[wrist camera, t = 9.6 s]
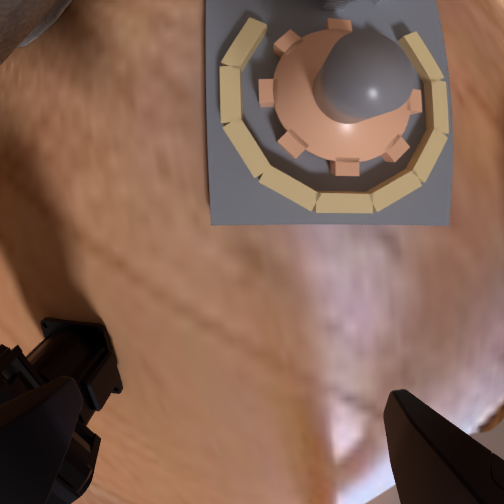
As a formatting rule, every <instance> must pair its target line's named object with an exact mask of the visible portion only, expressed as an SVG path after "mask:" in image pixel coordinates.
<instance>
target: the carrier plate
mask: <svg viewBox="0 0 504 504" xmlns="http://www.w3.org/2000/svg"><path fill="white" fill-rule="evenodd" d="M327 18H333V19H344V20H351V25H352V32H355V31H372V32H376V33H379V34H382V35H384V36H386V37H388V38H390V39H391V40H392V41H394V42H395V43H396V44H397V45H398V46H399V47H400V48H401V49H402V50H403V51H404V52H405V54H406V55H407V57H408V59H409V61H410V63H411V66H412V69H413V74H414V86H413V89H417V90H421V99H422V112H421V113H417V114H412V115H410V116H409V120H408V124H407V126H406V128H405V131H404V133H403V134H402V136H401V137H402V138H403V139H404V140H405V141H406V143H407V144H408V145H409V146H410V148H409V149H408V150H407V151H406V152H405V153H404V154H403V155H402V156H401V157H400V158H399V159H398V160H397V161H396V162H386V161H384V159H383V158H382V157H381V156H378V157H376V158H373V159H370V160H367V161H362V162H359V176H335V175H332V174H330V160H325V159H322V158H319V157H317V156H314V155H312V154H310V153H308V152H307V151H305V150H304V151H303V152H302V153H301V154H300V155H299V156H298V157H297V158H296V159H294V158H292V157H291V156H290V155H289V154H288V153H287V152H286V151H285V150H284V149H283V148H282V147H281V146H280V145H279V144H278V143H277V141H278V140H279V139H280V138H281V137H282V136H283V135H284V134H285V133H286V132H285V130H284V129H283V128H282V126H281V124H280V122H279V120H278V118H277V115H276V112H275V108H274V107H260V104H259V80H258V79H274V73H275V70H276V67H277V65H278V63H279V61H280V58H279V57H278V56H277V55H275V54H274V43H275V42H276V41H277V40H278V39H280V38H281V37H282V36H283V35H284V34H285V33H287V32H288V31H289V30H290V29H291V30H292V31H293V32H294V33H296V34H297V35H298V36H299V37H301V38H302V37H304V36H306V35H308V34H311V33H313V32H317V31H321V30H323V28H324V26H325V23H326V21H327ZM206 112H207V145H208V171H209V193H210V212H211V225H271V224H373V225H431V226H449V219H450V207H451V193H452V170H453V129H452V107H451V93H450V82H449V73H448V65H447V57H446V50H445V44H444V38H443V32H442V27H441V22H440V17H439V12H438V8H437V3H436V0H382V1H380V2H379V3H378V4H376V5H374V4H373V3H372V2H370V1H369V0H358V1H353V2H349V3H348V4H347V6H346V8H345V10H344V12H335V11H322V4H321V1H320V0H206Z"/></svg>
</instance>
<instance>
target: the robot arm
mask: <svg viewBox="0 0 504 504" xmlns="http://www.w3.org/2000/svg"><path fill="white" fill-rule="evenodd" d="M46 324H47V325H46ZM41 327H42V330H43V333H44V336H45V339H44V340H43V341H42V342H41V343H40V344H39V345H37V346H36V347H35V348H34V349H33V350H32V351H31V352H30V353H29V354H28V355H27V356H26V357H25V356H24V354H23V353H22V350H21V348H20V347H19V345H17V346H15V347H14V348H13V349H12V350H11V349H10V348H8V347H6V346H4V345H3V344H1V345H0V504H71V503H72V502H74V501H75V500H77V499H78V498H79V497H80V496H82V495H83V493H84V492H85V491H86V490H87V488H88V487H89V485H90V483H91V481H92V478H93V474H94V469H95V464H96V460H97V455H98V451H99V446H100V442H101V438H100V437H99V436H98V435H97V434H96V433H95V434H94V433H93V432H92V431H91V430H90V429H89V428H88V427H87V426H86V425H87V424H88V422H89V420H90V419H91V417H92V416H93V414H94V412H95V411H100V410H101V409H102V407H103V406H104V404H105V402H106V401H107V399H108V397H109V396H110V394H111V393H116V394H120V393H121V391H122V390H123V386H122V383H121V380H120V375H119V372H118V368H117V365H116V362H115V358H114V355H113V353H112V350H111V347H110V343H109V339H108V336H107V332H106V329H105V327H104V326H102V325H100V324H93V323H84V322H75V321H67V320H59V319H51V318H44V319H43V320H41ZM98 330H99V331H100V332H101V333H100V332H99V331H98ZM116 387H117V388H116ZM383 417H384V424H385V430H386V437H387V443H388V450H389V457H390V463H391V467H392V472H393V475H394V479H395V483H396V487H397V491H398V494H399V498H400V502H401V504H504V460H503V459H501V458H500V457H499V456H497V455H496V454H494V453H492V452H491V451H490V450H489V449H487V448H486V447H484V446H483V445H482V444H480V443H479V442H477V441H476V440H474V439H473V438H472V437H470V436H469V435H468V434H466V433H465V432H463V431H462V430H461V429H459V428H458V427H457V426H455V425H454V424H452V423H451V422H450V421H448V420H447V419H445V418H444V417H443V416H441V415H440V414H439V413H437V412H436V411H435V410H433V409H432V408H430V407H429V406H428V405H426V404H425V403H424V402H422V401H421V400H420V399H418V398H417V397H415V396H414V395H413V394H411V393H410V392H409V391H407V390H405V389H400V390H393V391H391V392H390V394H389V397H388V400H387V403H386V407H385V410H384V416H383Z"/></svg>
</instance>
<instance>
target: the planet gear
mask: <svg viewBox="0 0 504 504" xmlns="http://www.w3.org/2000/svg"><path fill="white" fill-rule="evenodd" d="M274 54H275V55H277V56H278V57H279V58H280V61H279V63H278V65H277V67H276V70H275V73H274V79H258V80H259V104H260V107H274V108H275V112H276V115H277V118H278V120H279V122H280V124H281V126H282V128H283V129H284V130H285V132H286V133H285V134H284V135H283V136H282V137H281V138H280V139H279V140H278V141H277V143H278V144H279V145H280V146H281V147H282V148H283V149H284V150H285V151H286V152H287V153H288V154H289V155H290V156H291V157H292V158H294V159H296V158H297V157H298V156H299V155H300V154H301V153H302V152H303V151H304V150H305V151H307V152H308V153H310V154H312V155H314V156H317V157H319V158H322V159H325V160H330V174H332V175H335V176H359V162H362V161H367V160H370V159H373V158H376V157H378V156H381V157H382V158H383V159H384V161H386V162H396V161H397V160H398V159H399V158H400V157H401V156H402V155H403V154H404V153H405V152H406V151H407V150H408V149H409V148H410V146H409V145H408V144H407V143H406V141H405V140H404V139H403V138H402V137H401V136H402V134H403V133H404V131H405V128H406V126H407V124H408V120H409V116H410V115H412V114H417V113H421V112H422V99H421V90H417V89H413V86H414V74H413V69H412V66H411V63H410V61H409V59H408V57H407V55H406V54H405V52H404V51H403V50H402V49H401V48H400V47H399V46H398V45H397V44H396V43H395V42H394V41H392V40H391V39H390V38H388V37H386V36H384V35H382V34H379V33H376V32H372V31H355V32H352V25H351V20H344V19H333V18H327V21H326V23H325V26H324V28H323V30H321V31H317V32H313V33H311V34H308V35H306V36H304V37H302V38H301V37H299V36H298V35H297V34H296V33H294V32H293V31H292V30H291V29H290V30H289V31H288V32H287V33H285V34H284V35H283V36H282V37H281V38H280V39H278V40H277V41H276V42H275V43H274Z"/></svg>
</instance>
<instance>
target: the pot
mask: <svg viewBox="0 0 504 504" xmlns="http://www.w3.org/2000/svg"><path fill="white" fill-rule="evenodd" d="M71 2H72V0H0V65H1V64H2V63H3V62H4V61H5V60H6V59H7V58H8V56H9V55H10V54H11V53H12V52H13V51H14V50H15V49H16V48H18V47H23V46H26V45H28V44H29V43H30V42H32V41H33V40H35V39H36V38H38V37H39V36H40V35H41V34H42V33H43V32H44V31H45V30H46V29H48V28H49V27H50V26H51V25H52V24H53V23H54V22H55V21H56V20H57V19H58V18H59V17H60V15H61V14H62V13H63V12H64V10H65V9H66V8H67V7H68V5H69V4H70V3H71Z"/></svg>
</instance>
